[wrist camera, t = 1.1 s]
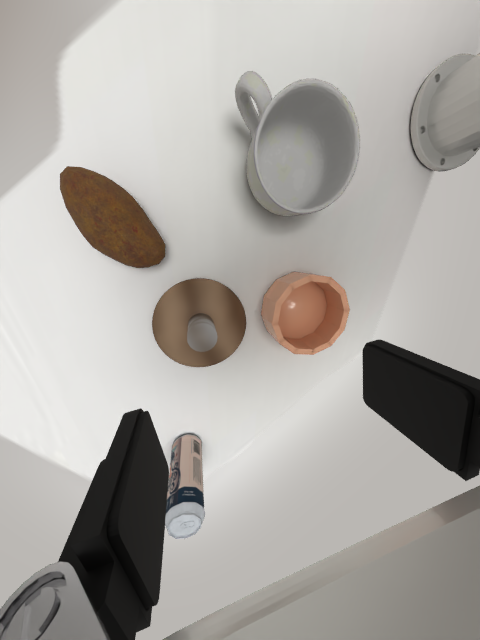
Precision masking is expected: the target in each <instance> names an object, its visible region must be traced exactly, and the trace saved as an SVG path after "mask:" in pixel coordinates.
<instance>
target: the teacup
mask: <svg viewBox="0 0 480 640" xmlns="http://www.w3.org/2000/svg"><path fill="white" fill-rule="evenodd" d="M250 96H251V97H252V98H253V100H254V101H255V103H256V105H257V108H258V112H259V116H258V114H257V112H256V110H255V108H254V105H253V103H252V101H251V97H250ZM235 97H236V102H237V106H238V108H239V111H240V113H241V115H242V117H243V119H244V121H245V123H246V125H247V127H248V129H249V130H250V134H251V137H252V141H251V144H250V147H249V150H248V155H247V164H246V170H247V178H248V183H249V186H250V189H251V191H252V193H253V195H254V197H255V198H256V200H257V201H258V202H259V203H260V204H261V205H262V206H263V207H264V208H265V209H267V210H268V211H270V212H272V213H274V214H277V215H282V216H294V215H300V214H306V213H313V212H316V211H319V210H322V209H324V208H325V207H327V206H329V205H330V204H332V203H333V202H334V201H335V200H337V199H338V198H339V197H340V196H341V194H342V193H343V192H344V191H345V189H346V188H347V186H348V185H349V183H350V181H351V179H352V177H353V175H354V172H355V169H356V166H357V162H358V157H359V149H360V134H359V127H358V123H357V118H356V115H355V113H354V111H353V108H352V106H351V104H350V102H349V101H348V100H347V98H346V97H345V96H344V95H343V94H342V93H341V92H340V91H339V90H338V88H336V87H335V86H333V85H332V84H330V83H328V82H326V81H322V80H318V79H304V80H299V81H296V82H294V83H292V84H290V85H288V86H287V87H285V88H284V89H283V90H282V91H280V92H279V93H278V94H277V95H276V96H275V97H274V98H273V99H272V96H271V94H270V91H269V89H268V86H267V84H266V83H265V81H264V80H263V79H262V77H261V76H260V75H259V74H257V73H256V72H253V71H248V72H246V73H244V74H243V75H242V76H241V78H240V79H239V81H238V83H237V85H236V89H235Z"/></svg>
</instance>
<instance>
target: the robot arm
mask: <svg viewBox="0 0 480 640" xmlns="http://www.w3.org/2000/svg"><path fill="white" fill-rule="evenodd" d="M411 139H412V144H413V148H414V150H415V153H416V155H417V157H418V158H419V160H420V161H421V162H422V163H423V164H424V165H425V166H426V167H428V168H429V169H431V170H435V171H447V170H450V169H454V168H456V167H458V166H461V165H463V164H464V163H466V162H467V161H469V159H470V158H471V157H473V156H474V154H476V152H477V151H478V150H479V148H480V53H479V54H477V55H476V56H474V55H471V54H459V55H455V56H453V57H451V58H449V59H448V60H446V61H445V62H443V63H442V64H441V65H439V66H438V67H437V68H436V69H435V70H434V71H433V72H432V73H431V74H430V75H429V76H428V77H427V79H426V80H425V82H424V83H423V85H422V87H421V89H420V91H419V93H418V95H417V97H416V100H415V103H414V107H413V111H412V116H411ZM363 399H364V402H365V403H366V405H367V406H368V407H370V408H371V409H372V410H374V411H375V412H376V413H377V414H379V415H380V416H381V417H382V418H384V419H385V420H386V421H388V422H389V423H390V424H391V425H392V426H394V427H395V428H396V429H397V430H399V431H400V432H401V433H402V434H404V435H405V436H406V437H407V438H409V439H410V440H411V441H413V442H414V443H415V444H416V445H418V446H419V447H420V448H421V449H423V450H424V451H425V452H426V453H428V454H429V455H430V456H431V457H433V458H434V459H435V460H436V461H438V462H439V463H440V464H441V465H443V466H444V467H445V468H447V469H448V470H450V471H453V472H455V473H456V474H458V475H459V476H460V477H462V478H463V479H464V480H465V481H467V480H469V479H471V478H473V477H475V476H477V475H479V470H480V380H479V379H477V378H475V377H472V376H470V375H467V374H465V373H462V372H460V371H457V370H454V369H452V368H450V367H447V366H445V365H442V364H440V363H437V362H435V361H432V360H430V359H427V358H425V357H423V356H420V355H417V354H415V353H413V352H410V351H408V350H405V349H403V348H400V347H397V346H395V345H393V344H390V343H388V342H385V341H383V340H376V341H372V342H369V343H366V345H365V347H364V348H363ZM168 479H169V469H168V464H167V461H166V458H165V456H164V453H163V450H162V447H161V445H160V442H159V439H158V436H157V433H156V431H155V428H154V425H153V422H152V420H151V417H150V414H149V412H148V411H145V412H143V410H142V409H138V410H134V411H131V412H127V413H125V414H124V415H123V417H122V420H121V422H120V425H119V427H118V430H117V432H116V435H115V437H114V439H113V442H112V444H111V447H110V449H109V452H108V454H107V457H106V459H104V460H103V461H102V462H101V463H100V465H99V467H98V469H97V471H96V474H95V476H94V478H93V481H92V483H91V485H90V488H89V490H88V493H87V495H86V497H85V500H84V502H83V504H82V507H81V509H80V511H79V514H78V516H77V518H76V521H75V523H74V525H73V528H72V530H71V533H70V535H69V537H68V540H67V542H66V544H65V547H64V549H63V552H62V554H61V556H60V558H59V561H58V562H57V563H54V564H50V565H48V566H46V567H45V568H43V569H41V570H40V571H38V572H36V573H35V574H34V575H33V576H31V577H30V578H29V579H28V580H27V581H25V582H24V583H23V584H22V585H21V586H20V587H19V588H18V589H17V590H16V591H15V592H14V593H13V594H12V595H11V596H10V598H9V599H8V600H7V601H6V603H5V604H4V605H3V607H2V608H1V609H0V640H135V635H136V632H138V631H140V630H143V629H145V628H147V627H149V626H150V622H151V611H152V606H155V605H157V603H158V600H159V593H160V580H161V567H162V554H163V542H164V530H165V517H166V504H167V492H168ZM163 640H480V486H478V487H476V488H474V489H471V490H469V491H467V492H465V493H463V494H461V495H458V496H456V497H454V498H452V499H450V500H448V501H445V502H443V503H441V504H439V505H437V506H435V507H433V508H431V509H429V510H426V511H424V512H422V513H420V514H418V515H416V516H414V517H411V518H409V519H407V520H405V521H403V522H401V523H399V524H397V525H394V526H392V527H390V528H388V529H386V530H384V531H382V532H380V533H378V534H375V535H373V536H371V537H369V538H367V539H365V540H363V541H361V542H358V543H356V544H354V545H352V546H350V547H348V548H346V549H344V550H342V551H340V552H337V553H335V554H333V555H331V556H329V557H327V558H325V559H323V560H321V561H319V562H317V563H314V564H313V565H310V566H308V567H306V568H304V569H302V570H300V571H298V572H296V573H294V574H292V575H289V576H287V577H285V578H283V579H281V580H279V581H277V582H275V583H273V584H271V585H269V586H267V587H265V588H262V589H260V590H258V591H256V592H254V593H252V594H250V595H248V596H246V597H244V598H242V599H240V600H238V601H236V602H234V603H232V604H231V605H228V606H226V607H224V608H222V609H220V610H218V611H216V612H214V613H212V614H211V615H209V616H206V617H205V618H202V619H201V620H199V621H197V622H195V623H193V624H191V625H189V626H187V627H185V628H183V629H181V630H179V631H177V632H175V633H173V634H172V635H170V636H168V637H166V638H165V639H163Z"/></svg>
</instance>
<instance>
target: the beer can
mask: <svg viewBox="0 0 480 640" xmlns="http://www.w3.org/2000/svg"><path fill="white" fill-rule="evenodd" d="M204 517H205V511H204V497H203V473H202V442H201V440H200V439H199V438H198V437H197V436H195V435H191V434H187V435H183V436H181V437H179V438H177V439H176V440H175V442H174V443H173V446H172V455H171V464H170V473H169V482H168V492H167V504H166V517H165V526H166V528H167V531H168V534H169V535H170V536H172V537H174V538H176V539H179V538H188V537H190V536H192V535H194V534H196V533H197V531H198V530H199V529H200V528H201V524H202V522H203V519H204Z"/></svg>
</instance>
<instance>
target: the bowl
mask: <svg viewBox="0 0 480 640" xmlns="http://www.w3.org/2000/svg"><path fill="white" fill-rule="evenodd" d="M349 310H350V309H349V305H348V300H347V296H346V292H345V290H344V289H343V288H342V287H341V286H340V285H339V284H338V283H337V282H336V281H335V280H334V279H332V278H331V277H327V276H321V275H315V274H307V273H300V272H292V273H290V274H287V275H285V276H283V277H281V278H279V279H276V280H275V282H274V283H273V284H272V286H271V287H270V288H269V290H268V291H267V292H266V294H265V295H264V298H263V304H262V311H261V316H262V319H263V321H264V324H265V327H266V329H267V331H268V332H269V333H270V334H271V335H272V336H273V338H274V339H275V340H276V341H277V342H278V343H279V344H281V345H282V346H284V347H285V348H287V349H288V350H289V351H291V352H292V353H294V354H310V355H313V354H315V353H317V352H320V351H322V350H324V349H326V348H328V347H330V346H331V345H332V344H333V343H334V342H335V341H336V339H337V338H338V337H339V336H340V334H341V333H342V332H343V331H344V329H345V326H346V322H347V318H348V314H349Z"/></svg>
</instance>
